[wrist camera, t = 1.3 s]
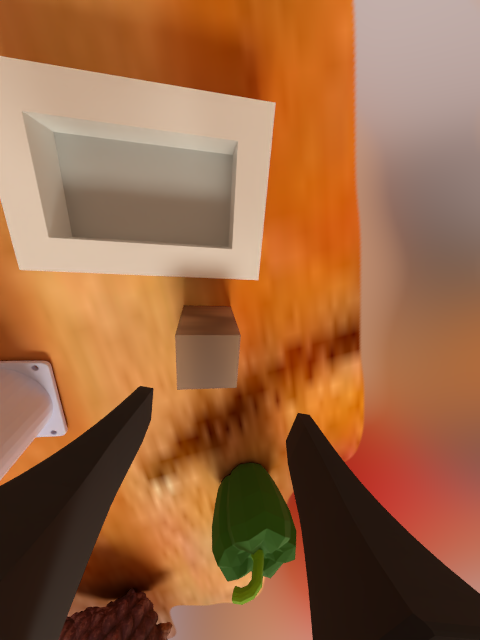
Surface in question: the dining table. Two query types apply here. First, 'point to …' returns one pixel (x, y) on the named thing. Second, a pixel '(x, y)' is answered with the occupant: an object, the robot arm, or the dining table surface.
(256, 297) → the dining table surface
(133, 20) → the dining table surface
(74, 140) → the well trough
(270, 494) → the bell pepper
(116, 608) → the pine cone
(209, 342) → the bracket block
